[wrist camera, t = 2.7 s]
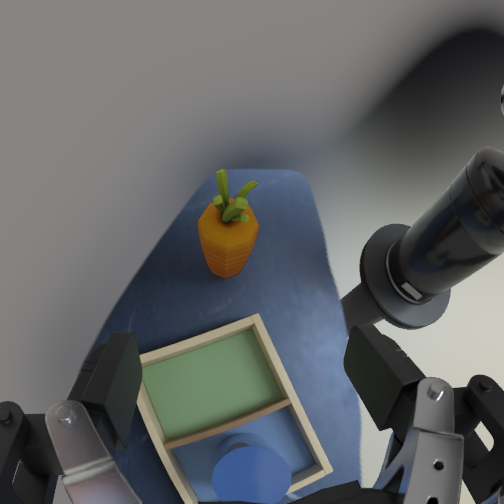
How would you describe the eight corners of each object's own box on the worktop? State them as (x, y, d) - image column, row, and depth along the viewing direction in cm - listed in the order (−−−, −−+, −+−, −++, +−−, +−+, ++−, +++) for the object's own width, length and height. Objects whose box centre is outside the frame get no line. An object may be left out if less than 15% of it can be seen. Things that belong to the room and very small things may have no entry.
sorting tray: (254, 320, 30) (258, 312, 27) (323, 464, 23) (333, 471, 20) (130, 363, 26) (121, 360, 23) (199, 512, 19) (197, 524, 16)
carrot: (204, 252, 33) (199, 157, 20) (248, 255, 33) (268, 162, 20) (200, 293, 31) (188, 213, 17) (246, 297, 31) (269, 219, 18)
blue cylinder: (260, 423, 24) (273, 434, 18) (284, 471, 22) (303, 492, 16) (203, 445, 23) (198, 462, 16) (228, 492, 20) (231, 520, 14)
